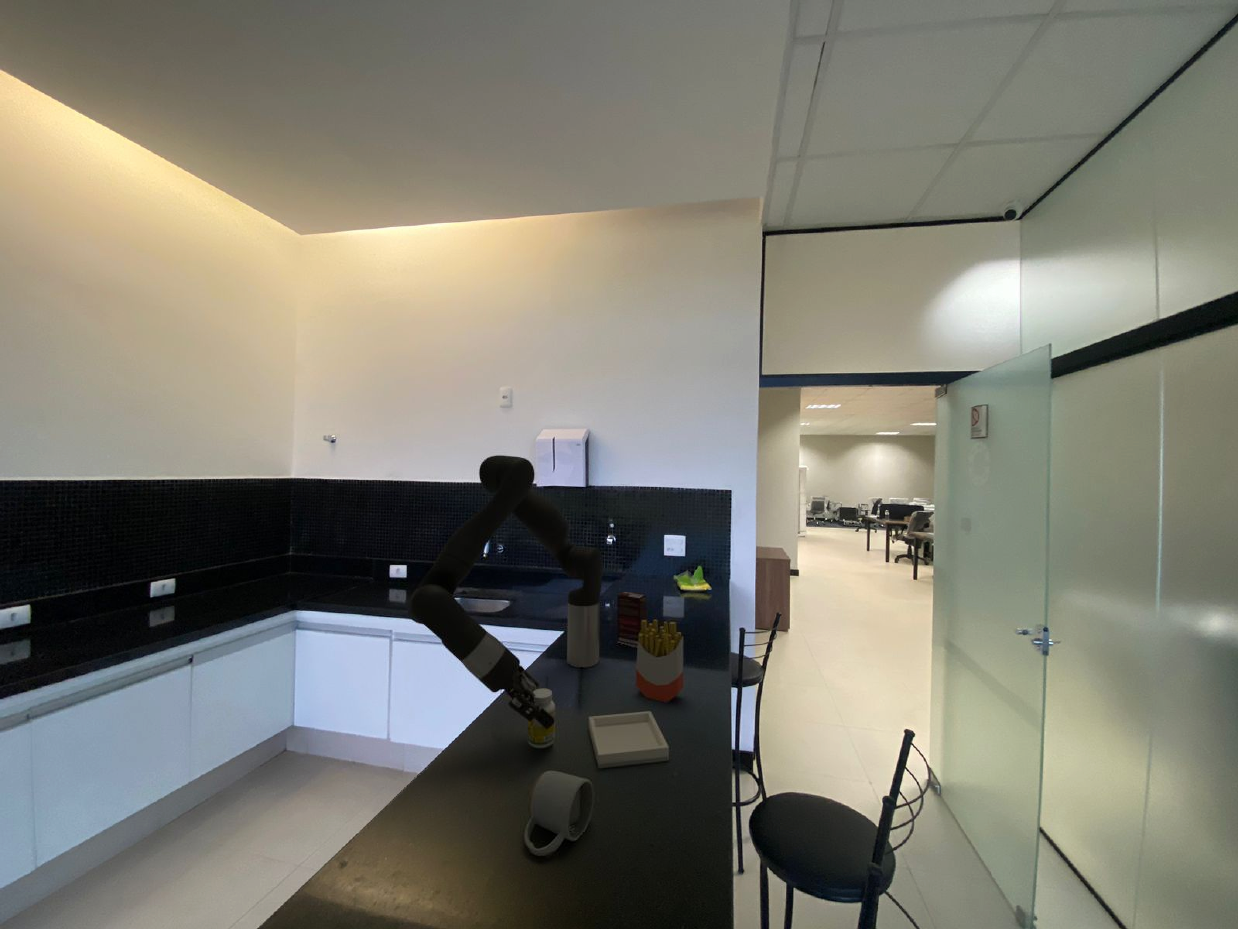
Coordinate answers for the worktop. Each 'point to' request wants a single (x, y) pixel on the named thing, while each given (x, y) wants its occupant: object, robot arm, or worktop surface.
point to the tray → (627, 739)
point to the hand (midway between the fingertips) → (550, 716)
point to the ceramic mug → (559, 807)
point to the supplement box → (630, 617)
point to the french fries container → (659, 661)
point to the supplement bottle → (536, 731)
